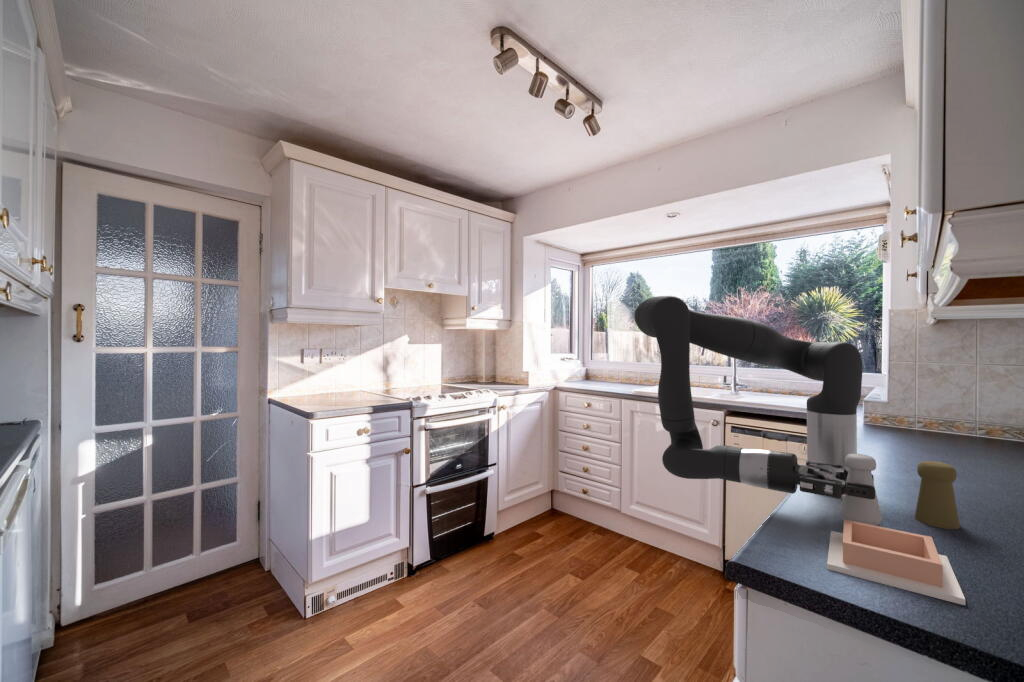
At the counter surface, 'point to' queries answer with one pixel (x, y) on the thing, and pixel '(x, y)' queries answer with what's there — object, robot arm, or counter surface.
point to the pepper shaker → (937, 495)
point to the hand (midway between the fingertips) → (874, 486)
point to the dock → (893, 560)
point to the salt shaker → (857, 506)
